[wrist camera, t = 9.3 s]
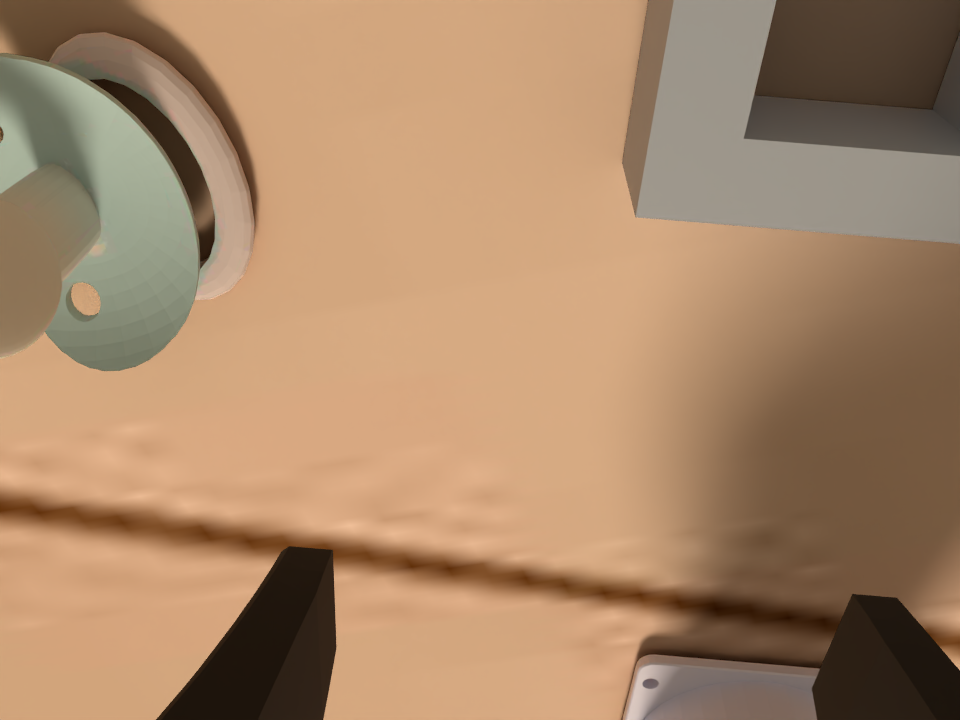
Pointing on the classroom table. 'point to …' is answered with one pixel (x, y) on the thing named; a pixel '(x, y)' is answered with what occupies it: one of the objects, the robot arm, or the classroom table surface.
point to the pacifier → (108, 204)
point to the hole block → (779, 138)
